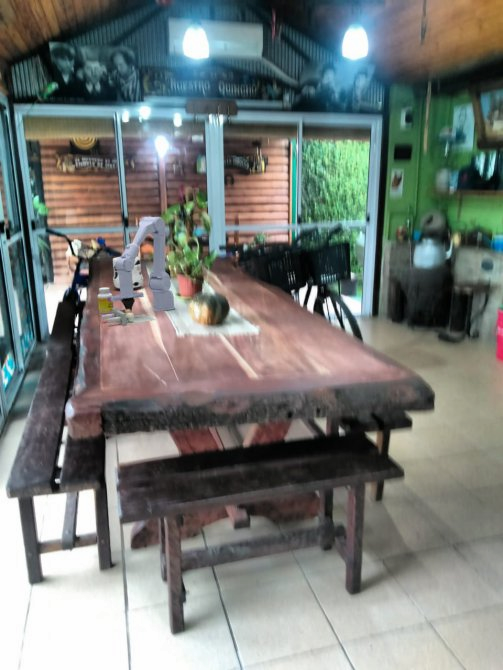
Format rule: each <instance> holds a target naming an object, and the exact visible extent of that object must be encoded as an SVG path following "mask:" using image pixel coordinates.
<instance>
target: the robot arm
mask: <svg viewBox="0 0 503 670" xmlns="http://www.w3.org/2000/svg"><path fill="white" fill-rule="evenodd" d="M138 226H139V227H138V230H137V232H136V234H135V236H134V238H133V240H132V242H131V243H128V244H126V246H125V249H124V251H123V252H122V254H121V255H120V257H121V258H118V259H117V260H116V263H115V268H116V270H117V273H118V274H119V283H120V289H119V292H120V294H117V295H112V296H111V301H113V302H116V301H120V302H121V303H122V305H123V306H124V310H125V309H126V310H127V309H130V310H131V312H132V310H133V307H134V304H135V302H136V301H135V299H137V298H145V296H144V295H145V294H144V292H142V291H141V292H135V291H134V289H133V281H132V269H133V268H134V262H135V258H136V257H138V254H139V253H140V251H141V249H140V246H141V245H142V243H143V242H144V240H145V239H146V238H147V235H151V237H152V238H153V271H152V272H151V273H150V274H149V277H148V278H149V279H148V283H147V284H148V288H149V289H150V290H151V291H150V292H152V301H153V307H151V308H150V309H152V310H153V311H156V312H160V311H161V312H162V311H164V312H166V311H170V310H175V309H176V308H175V299H174V293H173V291H172V290H171V287H172V284H171V277H170V275H169V273H167V272H166V222H165V221H164V219H163V218H162V217H161V216H142V218H141V219H140V221H139V222H138Z"/></svg>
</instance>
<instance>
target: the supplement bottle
mask: <svg viewBox="0 0 503 670" xmlns="http://www.w3.org/2000/svg"><path fill="white" fill-rule="evenodd" d="M98 291H99V293H98V295H97V303H98V311H99V314H98V315H99V316H101V317H102V315H107V314H112V308H114V301H111V296H113V294H112V293H111V292H110V287H99V288H98Z"/></svg>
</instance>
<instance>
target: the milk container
mask: <svg viewBox="0 0 503 670" xmlns="http://www.w3.org/2000/svg"><path fill="white" fill-rule="evenodd" d="M140 257H141V256H137V257H136V258H135V262H134V268H133V269H132V281H133V290H136V289H141V288H142V287H143V286H144V276H143V274H142V265H141V258H140ZM118 258H121V256H118V257H116V256H115V257H113V258H112V265H113V266H112V268H113V278H112V283H113V286H114V288H115V289H117V290H120V283H119V274H118V273H117V270H116V268H115V263H116V260H117V259H118Z"/></svg>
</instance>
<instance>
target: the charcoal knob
mask: <svg viewBox="0 0 503 670" xmlns="http://www.w3.org/2000/svg"><path fill="white" fill-rule="evenodd" d="M119 310H120V311H122V312H123V313H125V310H126V309H125V308H124V309H119ZM125 314H126V313H125ZM114 317H116V313H113V314H107V315H102V316H101V319H102V320H107V319H108V318H114Z"/></svg>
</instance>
